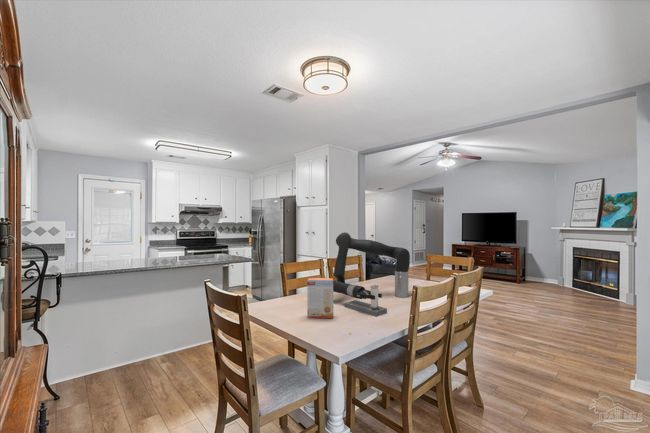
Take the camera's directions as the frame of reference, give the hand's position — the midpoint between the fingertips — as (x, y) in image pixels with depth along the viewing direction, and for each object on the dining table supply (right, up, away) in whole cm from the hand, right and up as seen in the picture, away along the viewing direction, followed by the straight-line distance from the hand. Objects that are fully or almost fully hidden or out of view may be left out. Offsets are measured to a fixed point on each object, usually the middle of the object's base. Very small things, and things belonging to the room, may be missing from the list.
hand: (378, 296), depth 179 cm
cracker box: (-33, -10, -5) cm, 34 cm away
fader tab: (-2, -7, +2) cm, 7 cm away
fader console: (-6, -9, +7) cm, 13 cm away
